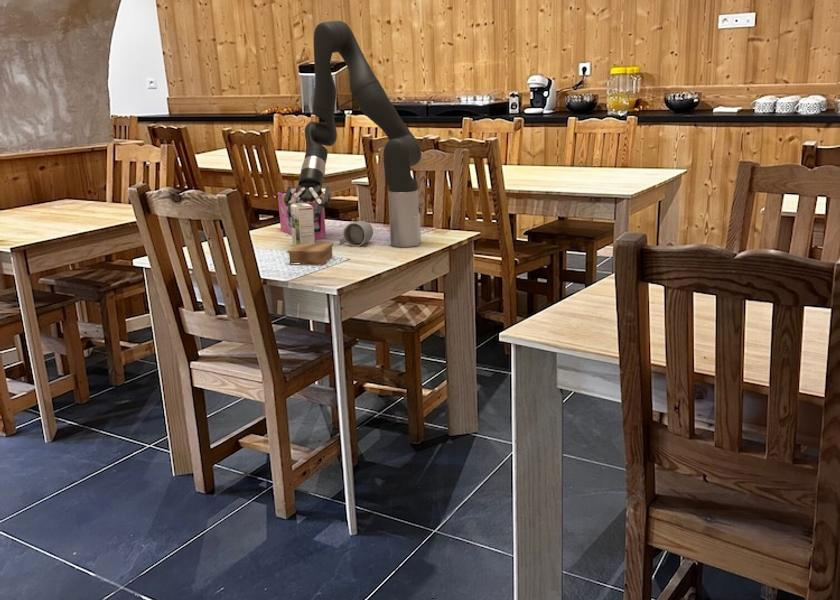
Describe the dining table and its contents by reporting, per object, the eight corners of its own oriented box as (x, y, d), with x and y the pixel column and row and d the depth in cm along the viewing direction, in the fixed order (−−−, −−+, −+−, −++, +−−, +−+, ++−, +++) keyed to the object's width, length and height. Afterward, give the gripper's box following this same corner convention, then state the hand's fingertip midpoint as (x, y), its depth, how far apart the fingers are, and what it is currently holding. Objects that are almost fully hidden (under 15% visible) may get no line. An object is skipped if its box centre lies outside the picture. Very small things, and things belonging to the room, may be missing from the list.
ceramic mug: (375, 241, 253) (373, 218, 251) (366, 247, 245) (364, 223, 243) (345, 241, 256) (343, 218, 254) (335, 246, 249) (333, 222, 247)
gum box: (328, 238, 260) (326, 198, 256) (306, 242, 256) (303, 200, 252) (300, 227, 280) (298, 189, 276) (279, 230, 276) (276, 192, 272)
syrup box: (292, 250, 244) (289, 204, 240) (310, 248, 247) (307, 202, 243) (297, 253, 239) (294, 206, 235) (316, 251, 242) (313, 205, 238)
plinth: (334, 256, 235) (333, 243, 234) (324, 264, 225) (323, 251, 224) (299, 255, 237) (298, 242, 236) (288, 264, 227) (287, 251, 225)
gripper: (287, 166, 248) (278, 209, 240) (331, 166, 245) (323, 209, 238) (294, 181, 254) (285, 222, 247) (336, 181, 252) (328, 223, 244)
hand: (303, 216), depth 242 cm, fingers open, 8 cm apart
